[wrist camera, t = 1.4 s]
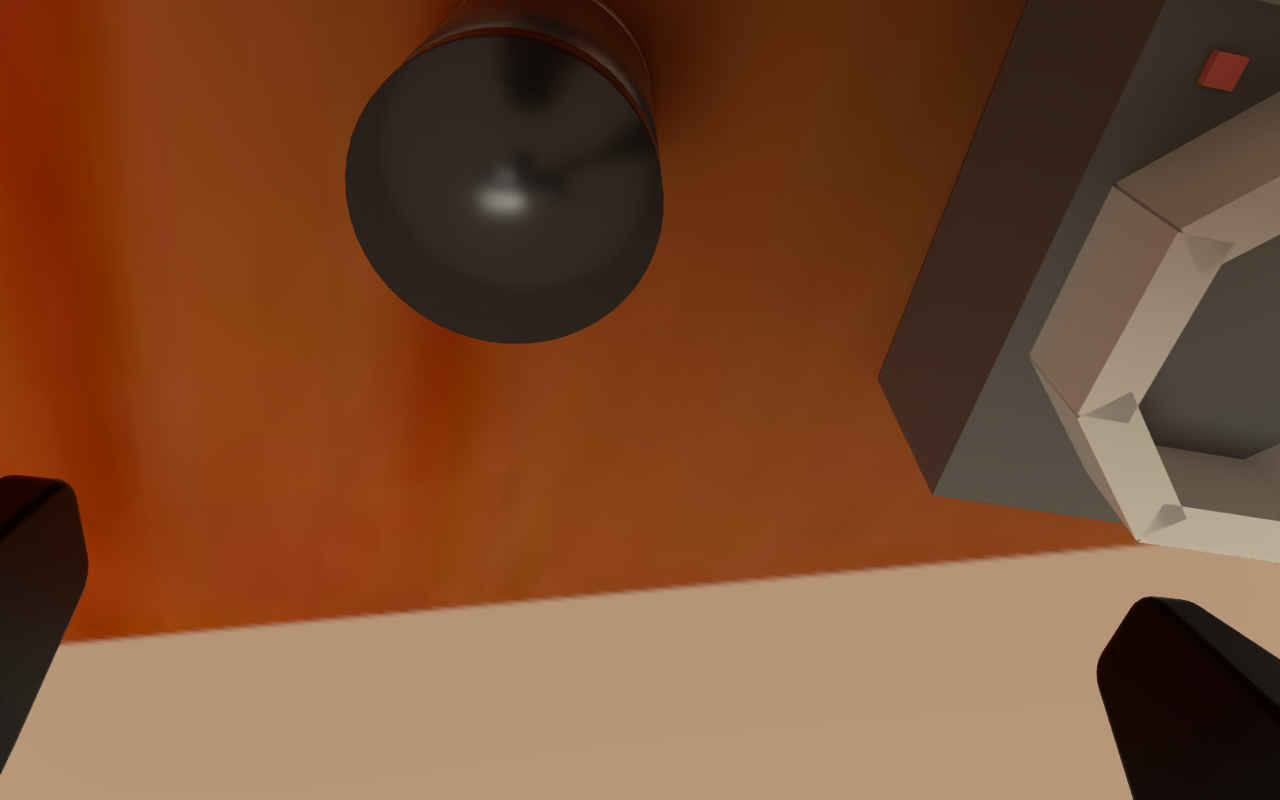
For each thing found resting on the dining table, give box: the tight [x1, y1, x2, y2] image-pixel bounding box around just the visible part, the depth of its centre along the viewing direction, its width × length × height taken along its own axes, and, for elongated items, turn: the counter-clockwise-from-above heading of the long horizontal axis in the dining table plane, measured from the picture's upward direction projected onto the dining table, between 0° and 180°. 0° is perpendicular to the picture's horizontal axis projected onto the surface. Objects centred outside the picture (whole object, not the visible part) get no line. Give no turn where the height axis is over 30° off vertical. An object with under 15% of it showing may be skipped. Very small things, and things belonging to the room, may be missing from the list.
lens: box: [345, 0, 663, 344], centre depth 15 cm, size 5×5×6 cm
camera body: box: [878, 0, 1280, 563], centre depth 16 cm, size 9×12×6 cm
